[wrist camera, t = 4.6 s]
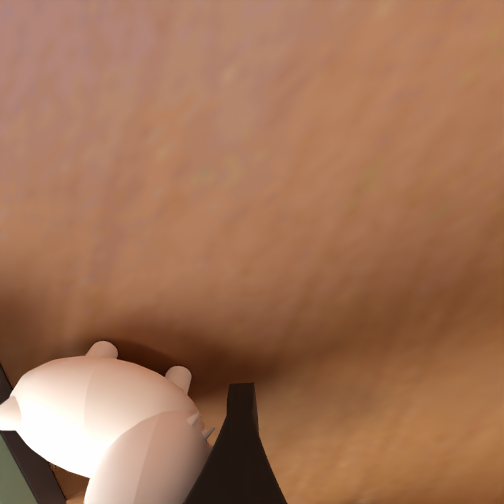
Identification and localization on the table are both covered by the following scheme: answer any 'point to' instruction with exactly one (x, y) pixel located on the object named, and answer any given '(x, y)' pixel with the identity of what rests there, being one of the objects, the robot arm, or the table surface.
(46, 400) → the toy creature
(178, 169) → the table surface
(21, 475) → the block
